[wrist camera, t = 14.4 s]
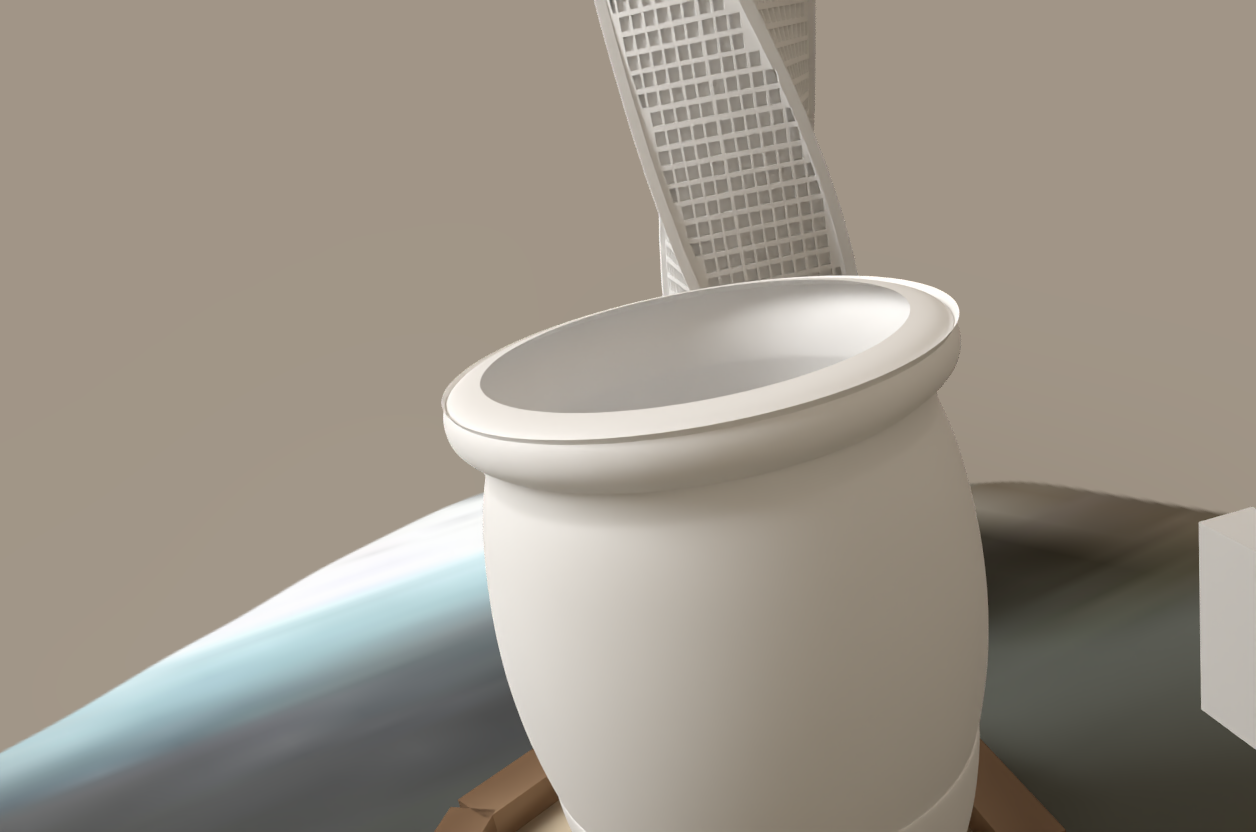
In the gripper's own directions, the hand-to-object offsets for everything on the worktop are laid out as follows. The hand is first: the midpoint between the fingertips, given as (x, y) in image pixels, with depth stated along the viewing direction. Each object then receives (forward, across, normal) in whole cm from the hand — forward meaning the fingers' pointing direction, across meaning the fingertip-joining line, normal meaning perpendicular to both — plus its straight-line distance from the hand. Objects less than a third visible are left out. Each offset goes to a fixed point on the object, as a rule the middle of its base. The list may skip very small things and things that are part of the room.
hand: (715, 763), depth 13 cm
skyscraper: (+25, +9, -14) cm, 30 cm away
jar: (+10, +3, -13) cm, 17 cm away
